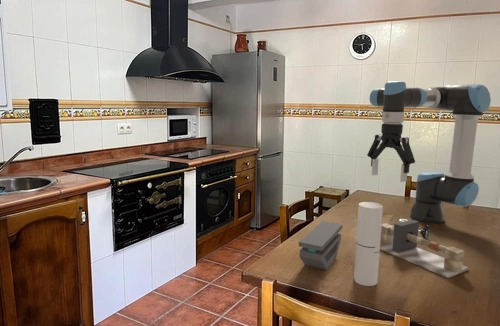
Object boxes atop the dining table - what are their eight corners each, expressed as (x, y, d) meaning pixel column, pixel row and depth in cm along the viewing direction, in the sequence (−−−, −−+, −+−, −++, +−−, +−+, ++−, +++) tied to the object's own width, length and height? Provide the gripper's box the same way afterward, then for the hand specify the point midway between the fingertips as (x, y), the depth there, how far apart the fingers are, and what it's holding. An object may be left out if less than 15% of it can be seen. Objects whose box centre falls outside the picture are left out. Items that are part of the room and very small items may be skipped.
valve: (394, 235, 160) (424, 242, 152) (396, 220, 158) (425, 227, 151) (400, 231, 164) (429, 238, 157) (401, 217, 163) (430, 223, 156)
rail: (370, 245, 148) (372, 226, 147) (390, 239, 154) (392, 221, 153) (447, 278, 121) (450, 255, 120) (468, 270, 127) (470, 248, 126)
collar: (392, 249, 140) (394, 223, 139) (409, 244, 145) (412, 219, 144) (398, 252, 138) (401, 225, 136) (416, 247, 143) (419, 221, 141)
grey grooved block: (320, 278, 120) (321, 246, 118) (297, 272, 123) (298, 241, 122) (340, 251, 141) (342, 224, 140) (321, 247, 145) (322, 220, 143)
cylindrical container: (350, 275, 122) (355, 202, 118) (371, 275, 122) (377, 201, 118) (358, 286, 115) (364, 208, 111) (381, 285, 115) (387, 208, 111)
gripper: (360, 121, 149) (357, 173, 152) (415, 125, 128) (410, 185, 131) (373, 121, 153) (370, 171, 156) (428, 125, 131) (423, 183, 135)
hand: (388, 178), depth 144 cm, fingers open, 13 cm apart
